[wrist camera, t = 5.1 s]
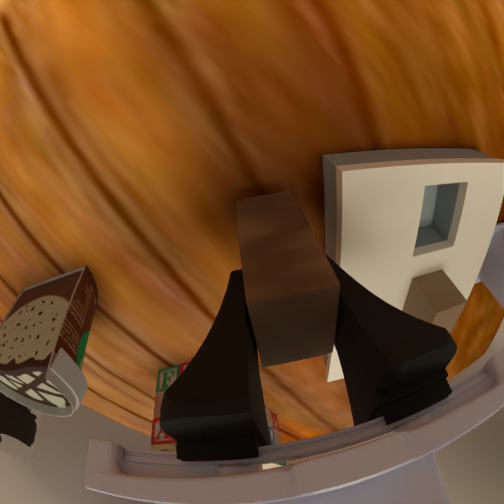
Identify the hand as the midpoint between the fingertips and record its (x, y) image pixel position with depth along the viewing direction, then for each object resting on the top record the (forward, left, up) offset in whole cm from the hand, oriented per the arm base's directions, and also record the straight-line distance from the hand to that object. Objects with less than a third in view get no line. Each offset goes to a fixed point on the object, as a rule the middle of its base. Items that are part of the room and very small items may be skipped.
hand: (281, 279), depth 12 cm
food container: (+18, +5, -6) cm, 20 cm away
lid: (-11, +7, -3) cm, 13 cm away
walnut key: (0, 0, -4) cm, 4 cm away
